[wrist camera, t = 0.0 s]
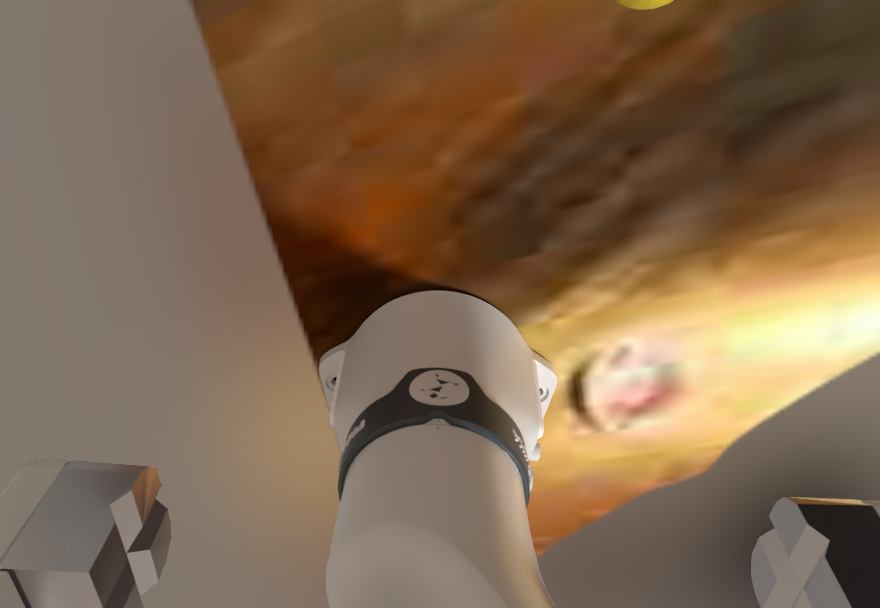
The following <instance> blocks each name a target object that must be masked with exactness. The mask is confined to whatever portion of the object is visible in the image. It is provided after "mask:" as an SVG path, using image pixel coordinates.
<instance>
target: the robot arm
mask: <svg viewBox="0 0 880 608" xmlns="http://www.w3.org/2000/svg"><path fill="white" fill-rule="evenodd" d="M319 374H320V378H321V382H322V385H323V389H324V393H325V397H326V400H327V404H328V408H329V411H330V416H329V424H330V426H332V427H334V430H335V434H336V438H337V441H338V445H339V448H340V452H341V458H340V463H339V471H338V472H339V480H338V492H339V499H340V507H339V512H338V517H337V522H336V527H335V532H334V537H333V542H332V547H331V551H330V556H329V561H328V567H327V572H326V588H327V596H328V600H329V604H330V608H556V607H555V605H554V604H553V602H552V600H551V598H550V596H549V594H548V592H547V590H546V588H545V586H544V584H543V581H542V578H541V575H540V571H539V567H538V563H537V559H536V555H535V551H534V547H533V542H532V538H531V533H530V528H529V523H528V517H527V511H526V509H527V505H528V502H529V497H530V491H531V489H532V485H533V475H534V473H533V468H532V467H531V466H530V465H529V460H530V461H538V459H539V456H540V450H541V446H540V443H536V442H537V439H538V438H540V437H542V436H543V430H544V425H543V418H544V415H545V413H546V410H547V408H548V405H549V403H550V400H551V398H552V395H553V393H554V390H555V388H556V385H557V372H556V369H555V368H554V366H553V365H552V364H551V363H549V362H548V361H547V360H546V359H544V358H543V357H541V356H540V355H538V354H537V353H535V352H533V351H532V350H531V349H530V348H529V347H528V346H527V344H526V343H525V341H524V340H523V338H522V336H521V335H520V333H519V331H518V330H517V329H516V327H515V326H514V325H513V323H512V322H511V321H510V320H509V319H508V318H507V317H506V316H505V315H504V314H503V313H501V312H500V311H499V310H497V309H496V308H495V307H493V306H492V305H490V304H488V303H486V302H484V301H482V300H480V299H478V298H475V297H472V296H470V295H466V294H462V293H458V292H451V291H423V292H417V293H412V294H408V295H405V296H402V297H399V298H397V299H395V300H392V301H390V302H388V303H387V304H385V305H383V306H382V307H380V308H379V309H377V310H376V311H375V312H374V313H372V314H371V315H370V316H369V317H368V318H367V319H366V320H365V321H364V323H363V324H362V325H361V326H360V328H359V329H358V330H357V332H356V333H355V334H354V335H353V336H352V337H351V338H350V339H349V340H348V341H346V342H344V343H342V344H340V345H338V346H336V347H334V348H332V349H331V350H329V351H328V352H326V353H325V354H324V355H323V356H322V357H321V359H320V363H319ZM335 377H337V379H336V381H335V380H334V379H333V378H335ZM539 388H541V390H540V389H539ZM161 486H162V485H161V482H160V479H159V475H158V472H157V469H156V468H154V467H150V466H139V465H126V464H111V463H100V462H87V461H67V460H52V459H37V458H34V459H33V460H31V461H30V462H28V463H27V464H25V465H24V466H22V467H21V468H20V470H19V471H18V472H17V474H16V475H15V477H14V478H13V479H12V481H11V482H10V484H9V485H8V486H7V488H6V489H5V490H4V492H3V493H2V495H1V496H0V608H144V607H143V604H142V600H141V597H140V596H141V595H142V594H143V593H144V592H146V591H147V590H148V589H149V588H150V587H152V586H153V585H154V584H155V583H156V582H158V581H159V579H160V576H161V573H162V571H163V568H164V566H165V563H166V561H167V556H168V551H169V545H170V540H171V520H170V516H169V512H168V508H166V507H165V506H164V505H163V504H161V503H160V502H159V501H158V500H157V499H156V497H157V495H158V492H159V490H160V488H161ZM770 518H771V521H772V523H773V525H774V527H775V528H774V529H772V530H771V531H769V532H768V533H766V534H764V535H763V536H761V537H760V538H759V539H758V541H757V544H756V546H755V548H754V551H753V553H752V570H751V576H752V580H753V586H754V590H755V594H756V596H757V599H758V602H759V604H760V607H761V608H880V501H864V500H863V501H858V500H850V499H825V498H796V497H784V498H782V499H781V500H779V501H778V502H776V504H775V505H774V507H773V510H772V511H771V513H770Z"/></svg>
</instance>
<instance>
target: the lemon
mask: <svg viewBox="0 0 880 608" xmlns="http://www.w3.org/2000/svg"><path fill="white" fill-rule="evenodd" d="M614 1H616V2H618V3H620V4H622V5H623V6H625V7H628V8H633V9H638V10H643V9H654V8H657V7H660V6H663V5H666V4H668V3H670V2H672V1H673V0H614Z"/></svg>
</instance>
